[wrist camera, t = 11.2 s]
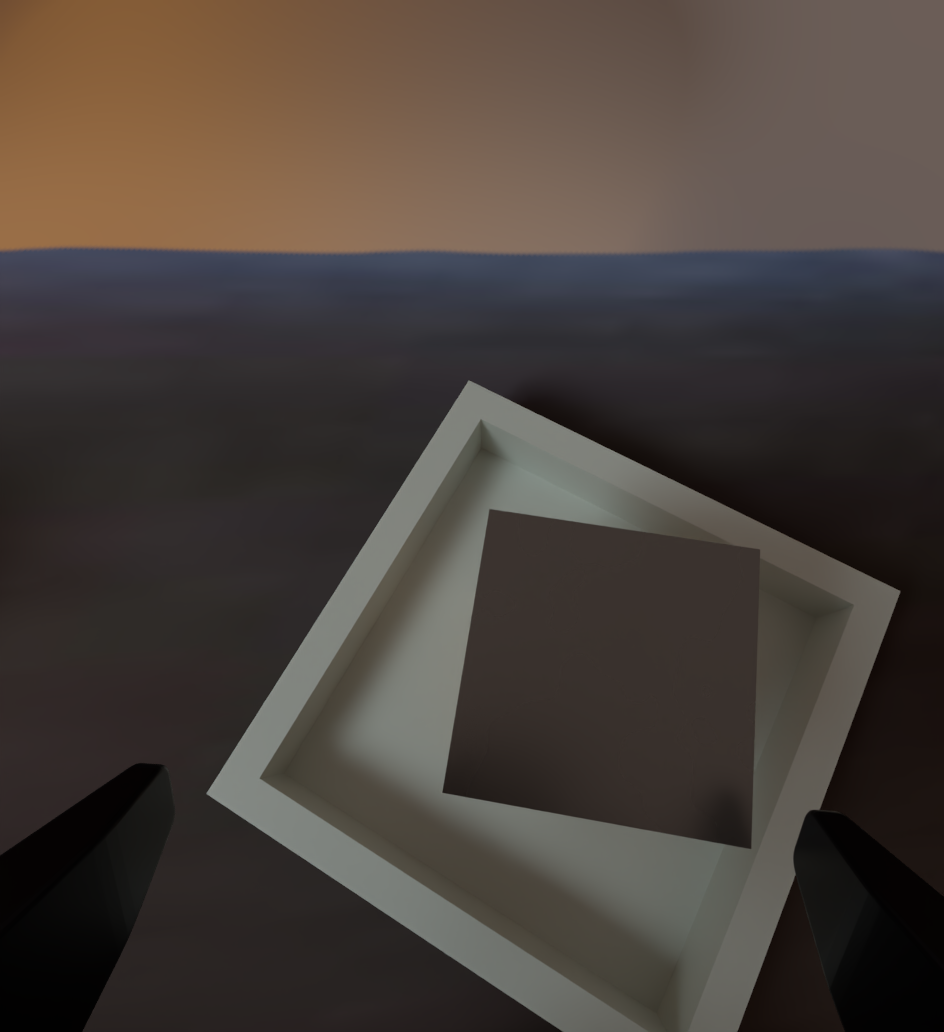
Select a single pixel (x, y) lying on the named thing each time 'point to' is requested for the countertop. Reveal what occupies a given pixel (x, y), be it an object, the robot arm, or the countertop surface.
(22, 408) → the countertop surface
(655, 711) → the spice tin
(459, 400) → the tray
